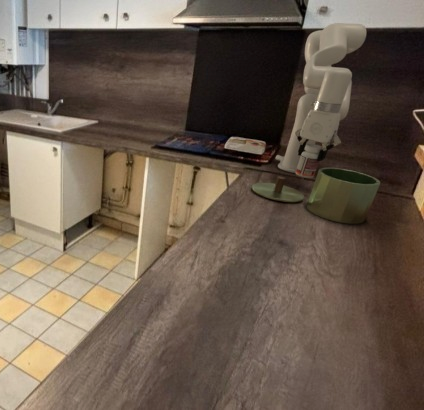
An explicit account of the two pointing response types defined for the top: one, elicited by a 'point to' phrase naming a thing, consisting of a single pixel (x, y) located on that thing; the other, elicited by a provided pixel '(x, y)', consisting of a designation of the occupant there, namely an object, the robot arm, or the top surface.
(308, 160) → the pill bottle
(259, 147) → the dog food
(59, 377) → the top surface
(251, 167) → the top surface
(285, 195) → the tin lid
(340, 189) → the tin
